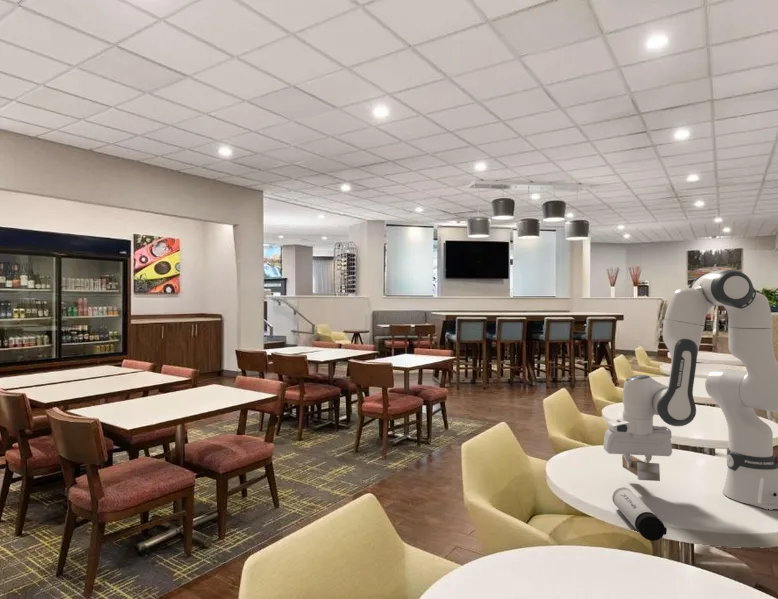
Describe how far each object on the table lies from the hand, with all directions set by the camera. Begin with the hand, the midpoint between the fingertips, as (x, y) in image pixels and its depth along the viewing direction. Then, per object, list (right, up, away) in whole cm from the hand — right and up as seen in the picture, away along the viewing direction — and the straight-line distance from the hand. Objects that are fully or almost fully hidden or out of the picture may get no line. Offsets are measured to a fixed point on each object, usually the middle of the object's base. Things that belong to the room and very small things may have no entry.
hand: (637, 468), depth 159 cm
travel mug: (-11, -4, -15) cm, 19 cm away
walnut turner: (0, -2, 0) cm, 2 cm away
